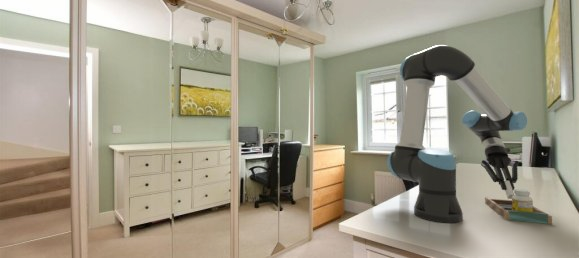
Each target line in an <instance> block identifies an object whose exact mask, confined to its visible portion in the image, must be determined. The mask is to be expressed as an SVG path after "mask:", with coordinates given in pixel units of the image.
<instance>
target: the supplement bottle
mask: <svg viewBox="0 0 579 258" xmlns="http://www.w3.org/2000/svg"><path fill="white" fill-rule="evenodd" d="M513 192H514V196H512V199H511V200H512V211H524V212H533V206H534V202H533V201H534V200H533V198H532V197H531V196H530V195H531V192H530V190H527V189H522V188H521V189H520V188H519V189H518V188H517V189H515V188H514V190H513Z"/></svg>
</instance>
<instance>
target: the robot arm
mask: <svg viewBox="0 0 579 258" xmlns="http://www.w3.org/2000/svg"><path fill="white" fill-rule="evenodd" d="M475 67H476V63H475V62H474V61H473V59H472V58H471V57H470V56H469V55H468V54H466V53H465V52H463V51H461V50H460V49H458V48H456V47H453V46H451V45H446V44H438V45H434V46H432V47H429V48H427V49H424V50H422V51H419V52H415V53H413V54H410V55H409V56H407V57H406V58H405V59H403V61H402V62H401V65H400V68H399V74H400V76H401V79H402V80H403V84H404V85H405V87H406V94H405V101H404V107H403V108H404V109H403V115H402V122H401V123H402V124H401V131H400V137H399V142H398V143H397V144H395V146H394V150H393V151H392V152H391V153H389V155H388V157H387V161H386V163H387V168H388V171H389V172H390V173H391V175H392V176H394V177H396V178H398V179H400V180H405V181H411V182H414V183H418V195H417V198H416V200H415V203H414V206H413V207H414V208H413V214H414V215H415V216H417V217H419V218H421V219H423V220H427V221H432V222H438V223H449V224H450V223H460V222H462V221H463V219H464V217H463V216H464V215H463V214H464V213H463V210H462V208H461V204H460V202H459V200H458V197H457V164H456V163H457V162H456V157H455V155H454V154H453V153H451V152H449V151H444V150H438V149H426V147H424V145H423V144H424V143H423V142H424V135H425V129H426V128H425V126H426V119H427V112H428V104H429V96H430V89H431V88H432V87H433V86H434V85H435V82H436V77H440V76H444V77H446V78H447V79H448V80H450V81H451V82H455V83H456V84H457V85H458V86H459V87H460V89H462V90H463V91H464V93H466V95H467V96H468V97H469V98H470V99H471V100H472V101H473V102H474V103H475V105H477V106H478V107H479V109H480V110H482V112H483V113H484V114H483V113H481V112H478V111H477V110H474V109H473V110H469V111H467V112H466V113H464V114H463V115H462V117H461V122H462V123H463V125H465V127H466V128H467V129H469V130H470V131H471V132H472V133H474V134H475V136H477V137H478V138H479V140H480V142H481V145H482V148H483V151H484V155H485V158H486V159H485V160H484V159H483V160H481V162H480V165H481V167H483V168H484V169H485V172H487V174H488V176H490V178H491V180H492V182H494V183H498V185H500V188H501V190H502V191H504V192H505V194H506V197H507V200H512V196H514V195H515V193H514V190H515V185H514V184H517V181H518V179H519V177H518V176H519V174H518V166H519V164H520V162H519V161H518V160H515V161H514V160H512V159H511V158H510V157H509V154H508V152H507V150H506V146H505V143H504V142H503V139H502V137H501V134H500V132H513V131H515V132H516V131H523V130H525V128H526V127H527V124H528V117H527V115H526V114H525V113H524V112H522V111H513V110H512V108H510V107H509V106H508V104H506V102H505V101H504V99H503V98H501V96H500V95H499V94H498V92H496V91H495V89H494V88H492V86H491V85H490V84H489V83H488V82H487V80H486V79H485V78H484V77H483V76H482V74H481V73H480V72H479V71H478V70H477V69H476V68H475ZM509 165H510V166H511V172H510V171H509V167H508V166H509ZM492 167H493V168H492Z"/></svg>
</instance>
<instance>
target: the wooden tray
mask: <svg viewBox="0 0 579 258" xmlns="http://www.w3.org/2000/svg"><path fill="white" fill-rule="evenodd" d="M484 202H485V204H486V205H487V206H488V207H489V208H491V209H492V210H493V211H494V212H496V213H497V214H498V215H500V216H501V217H502V218H503V219H504V220H506V221H516V222H517V221H518V222H527V223H537V224H548V225H553V216H552V215H550V214H549V213H547V212H545V211H543V210H541V209H540V208H537V207H536V206H534V205H533V212H524V211H512V199H499V198H497V199H496V198H489V197H488V196H485V197H484Z"/></svg>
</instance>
